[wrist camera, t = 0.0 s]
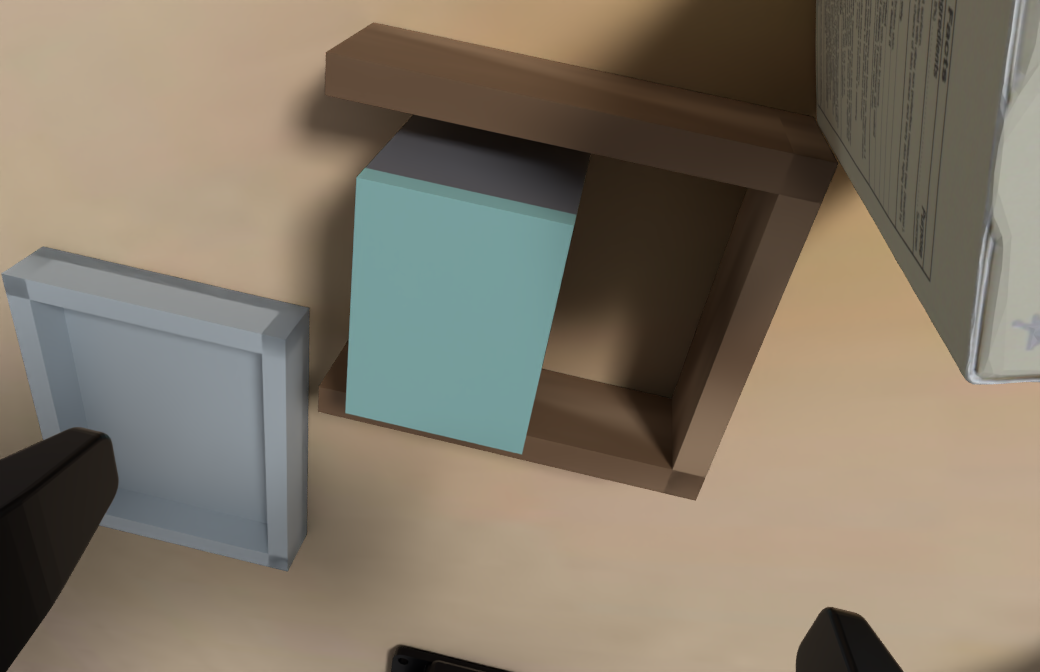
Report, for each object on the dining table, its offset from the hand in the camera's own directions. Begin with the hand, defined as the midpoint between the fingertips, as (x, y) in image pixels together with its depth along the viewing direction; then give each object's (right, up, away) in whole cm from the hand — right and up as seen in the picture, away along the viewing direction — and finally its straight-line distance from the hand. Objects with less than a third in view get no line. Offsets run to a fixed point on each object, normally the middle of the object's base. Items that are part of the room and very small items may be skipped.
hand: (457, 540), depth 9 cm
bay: (+2, +5, +14) cm, 15 cm away
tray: (-12, 0, +20) cm, 23 cm away
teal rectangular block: (0, +6, +14) cm, 15 cm away
